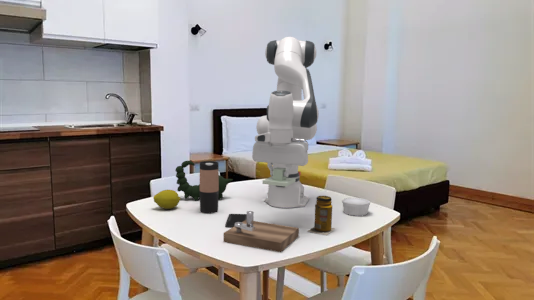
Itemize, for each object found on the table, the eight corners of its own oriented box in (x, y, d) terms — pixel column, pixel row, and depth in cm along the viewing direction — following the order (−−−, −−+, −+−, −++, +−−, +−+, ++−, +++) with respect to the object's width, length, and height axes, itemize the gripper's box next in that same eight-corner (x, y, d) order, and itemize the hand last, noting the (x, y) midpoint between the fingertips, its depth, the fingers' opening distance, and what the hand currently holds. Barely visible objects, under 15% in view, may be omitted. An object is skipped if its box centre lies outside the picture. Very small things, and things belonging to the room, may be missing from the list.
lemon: (181, 206, 176) (181, 187, 175) (179, 211, 168) (179, 192, 167) (155, 206, 175) (155, 187, 174) (152, 211, 167) (151, 192, 166)
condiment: (335, 228, 150) (336, 196, 149) (326, 235, 143) (328, 201, 141) (316, 225, 154) (317, 193, 152) (307, 232, 146) (308, 198, 145)
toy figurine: (178, 206, 182) (235, 199, 186) (173, 163, 180) (231, 158, 183) (179, 200, 192) (233, 194, 195) (175, 160, 189) (230, 155, 193)
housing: (246, 227, 149) (246, 215, 149) (298, 236, 141) (299, 223, 141) (223, 241, 135) (223, 228, 134) (280, 252, 127) (281, 238, 126)
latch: (232, 227, 135) (233, 209, 134) (238, 225, 137) (238, 207, 136) (250, 231, 131) (251, 213, 130) (256, 229, 133) (256, 211, 132)
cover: (272, 179, 154) (272, 165, 154) (295, 181, 151) (295, 167, 150) (262, 183, 146) (262, 169, 146) (286, 186, 143) (286, 171, 142)
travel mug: (208, 207, 175) (208, 160, 172) (222, 210, 170) (222, 162, 168) (195, 211, 169) (195, 162, 166) (209, 214, 164) (209, 164, 162)
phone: (249, 214, 164) (246, 226, 149) (248, 216, 164) (246, 229, 149) (229, 213, 164) (224, 225, 149) (229, 216, 164) (224, 228, 149)
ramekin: (341, 208, 178) (342, 196, 177) (368, 210, 176) (369, 198, 175) (341, 216, 167) (342, 203, 166) (370, 218, 165) (371, 205, 164)
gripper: (311, 138, 145) (310, 177, 147) (258, 134, 153) (257, 171, 155) (305, 140, 139) (304, 180, 141) (250, 136, 148) (250, 174, 149)
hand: (279, 175), depth 148 cm, fingers closed on cover, 3 cm apart
